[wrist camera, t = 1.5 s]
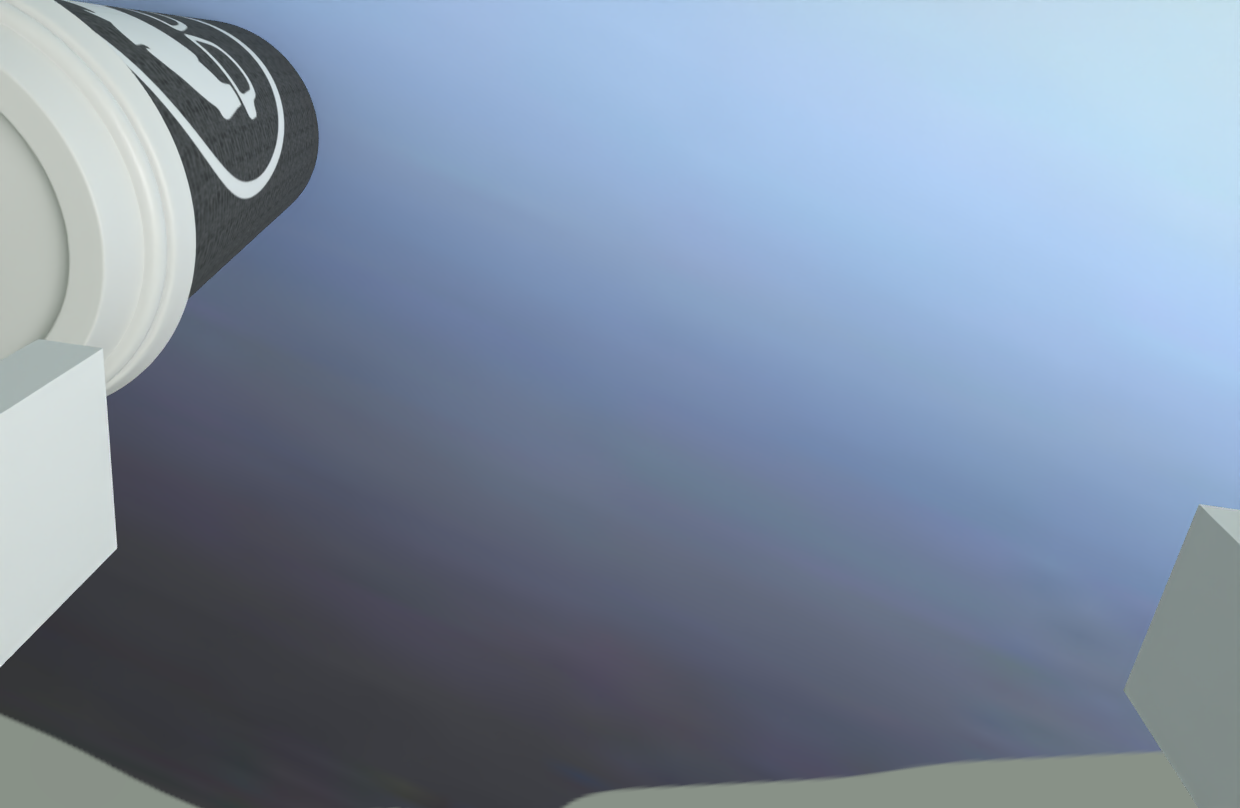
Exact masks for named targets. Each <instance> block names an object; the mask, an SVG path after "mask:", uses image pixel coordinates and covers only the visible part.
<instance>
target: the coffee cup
mask: <svg viewBox="0 0 1240 808" xmlns="http://www.w3.org/2000/svg"><path fill="white" fill-rule="evenodd" d="M318 139H319V137H318V124H317V118H316V114H315V110H314V106H313V103H312V100H311V98H310V95H309V93H308V91H307V89H306V87H305V85H304V83H303V81H302V79H301V78H300V76H299V75H298V73H297V72H296V70H295V69H294V68H293V66H292V65H291V64H290V63H289V61H288V60H287V59H286V58H285V57H284V56H283V55H282V54H281V53H280V52H279V51H278V50H277V49H275V48H274V47H273V46H272V45H271V44H269V43H268V42H267V41H265V40H264V39H262V38H261V37H259V36H257V35H255V34H254V33H252V32H250V31H248V30H245V29H243V28H240V27H238V26H235V25H231V24H228V23H223V22H218V21H211V20H204V19H197V18H190V17H182V16H175V15H168V14H161V13H154V12H147V11H140V10H132V9H125V8H118V7H111V6H104V5H97V4H90V3H84V2H77V1H70V0H0V360H2V359H4V358H6V357H8V356H9V355H11V354H13V353H15V352H16V351H18V350H20V349H22V348H24V347H25V346H27V345H29V344H31V343H32V342H34V341H36V340H38V339H41V340H48V341H55V342H62V343H69V344H76V345H83V346H90V347H97V348H103V357H104V371H105V385H106V396H108V395H110V394H112V393H114V392H115V391H117V390H119V389H120V388H122V387H124V386H125V385H126V384H128V383H129V382H131V381H132V380H133V379H134V378H136V377H137V376H138V375H139V374H140V373H142V372H143V371H144V370H145V369H146V368H147V367H148V366H149V365H150V364H151V363H152V362H153V361H154V360H155V358H156V357H157V356H158V355H159V354H160V352H161V351H162V350H163V348H164V347H165V345H166V344H167V342H168V341H169V339H170V338H171V336H172V334H173V333H174V331H175V329H176V327H177V325H178V323H179V321H180V319H181V316H182V314H183V311H184V309H185V306H186V303H187V300H188V299H189V298H190V297H191V296H192V295H193V294H194V293H195V292H196V291H197V290H199V289H200V288H201V287H202V286H203V285H204V284H205V283H206V282H207V281H208V280H209V279H210V278H211V277H213V276H214V275H215V274H216V273H217V272H218V271H219V270H220V269H221V268H222V267H223V266H224V265H226V264H227V263H228V262H229V261H230V260H231V259H232V258H233V257H234V256H235V255H236V254H238V253H239V252H240V251H241V250H242V249H243V248H244V247H245V246H246V245H247V244H248V243H249V242H251V241H252V240H253V239H254V238H255V237H256V236H257V235H258V234H259V233H260V232H261V231H263V230H264V229H265V228H266V227H267V226H268V225H269V224H270V223H271V222H272V221H274V220H275V219H276V218H277V217H278V216H279V215H280V214H281V213H282V212H283V211H284V210H286V209H287V208H288V207H289V206H290V205H291V204H292V203H293V202H294V201H295V200H296V199H297V198H298V196H299V195H300V194H301V193H302V191H303V190H304V188H305V187H306V185H307V183H308V181H309V179H310V177H311V175H312V172H313V170H314V167H315V163H316V159H317V153H318Z"/></svg>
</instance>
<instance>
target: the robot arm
mask: <svg viewBox="0 0 1240 808" xmlns="http://www.w3.org/2000/svg"><path fill="white" fill-rule="evenodd" d="M116 549H117V540H116V526H115V512H114V498H113V484H112V470H111V456H110V442H109V428H108V414H107V400H106V385H105V371H104V357H103V348H97V347H90V346H83V345H76V344H69V343H62V342H55V341H48V340H41V339H38V340H36V341H34V342H32V343H31V344H29V345H27V346H25V347H24V348H22V349H20V350H18V351H16V352H15V353H13V354H11V355H9V356H8V357H6V358H4V359H2V360H0V667H1V666H2V665H3V664H4V663H5V662H6V661H7V660H8V659H9V658H10V657H11V656H12V655H13V654H14V653H15V652H16V651H17V649H18V648H19V647H20V646H21V645H22V644H23V643H24V642H25V641H26V640H27V639H28V638H29V637H30V636H31V635H32V634H33V633H34V632H35V631H36V630H37V629H38V628H39V627H40V626H41V625H42V624H43V623H44V622H45V621H46V620H47V619H48V618H49V617H50V616H51V615H52V614H53V613H54V612H55V611H56V610H57V609H58V608H59V607H60V606H61V605H62V604H63V603H64V602H65V601H66V600H67V599H68V598H69V597H70V596H71V595H72V594H73V593H74V592H75V591H76V590H77V588H78V587H79V586H80V585H81V584H82V583H83V582H84V581H85V580H86V579H87V578H88V577H89V576H90V575H91V574H92V573H93V572H94V571H95V570H96V569H97V568H98V567H99V566H100V565H101V564H102V563H103V562H104V561H105V560H106V559H107V558H108V557H109V556H110V555H111V554H112V553H113V552H114V551H115V550H116ZM1124 692H1125V693H1126V695H1127V696H1128V698H1129V700H1130V701H1131V703H1132V704H1133V706H1134V707H1135V709H1136V711H1137V712H1138V714H1139V715H1140V717H1141V718H1142V720H1143V722H1144V723H1145V725H1146V726H1147V728H1148V729H1149V731H1150V733H1151V734H1152V736H1153V737H1154V739H1155V740H1156V742H1157V744H1158V745H1159V747H1160V748H1161V750H1162V752H1163V753H1164V755H1165V756H1166V758H1167V759H1168V761H1169V762H1170V764H1171V766H1172V767H1173V769H1174V770H1175V772H1176V774H1177V775H1178V777H1179V778H1180V780H1181V781H1182V783H1183V785H1184V786H1185V788H1186V789H1187V791H1188V792H1189V794H1190V796H1191V797H1192V799H1193V800H1194V802H1195V804H1196V805H1197V807H1198V808H1240V510H1236V509H1229V508H1222V507H1215V506H1208V505H1201V504H1199V506H1198V508H1197V511H1196V513H1195V516H1194V518H1193V521H1192V523H1191V526H1190V528H1189V530H1188V533H1187V535H1186V538H1185V540H1184V543H1183V545H1182V548H1181V550H1180V553H1179V555H1178V558H1177V560H1176V562H1175V565H1174V567H1173V570H1172V572H1171V575H1170V577H1169V580H1168V582H1167V585H1166V587H1165V590H1164V592H1163V595H1162V597H1161V599H1160V602H1159V604H1158V607H1157V609H1156V612H1155V614H1154V617H1153V619H1152V622H1151V624H1150V627H1149V629H1148V631H1147V634H1146V636H1145V639H1144V641H1143V644H1142V646H1141V649H1140V651H1139V654H1138V656H1137V659H1136V661H1135V664H1134V666H1133V668H1132V671H1131V673H1130V676H1129V678H1128V681H1127V683H1126V686H1125V688H1124Z"/></svg>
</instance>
